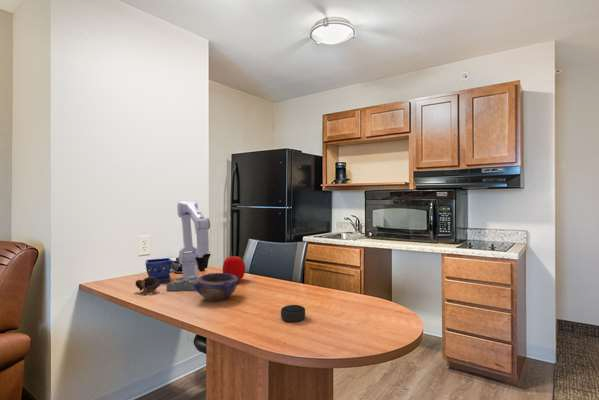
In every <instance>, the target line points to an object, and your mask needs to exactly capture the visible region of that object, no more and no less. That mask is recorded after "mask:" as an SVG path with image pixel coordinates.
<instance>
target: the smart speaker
mask: <svg viewBox="0 0 599 400" xmlns="http://www.w3.org/2000/svg"><path fill="white" fill-rule="evenodd" d="M280 318H281V320H282V321H284V322H288V323H297V322H301V321H303V320H304V319H306V308H305V307H304V306H303V305H299V304H289V305H285V306H283V307H282V308H281V309H280Z"/></svg>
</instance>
